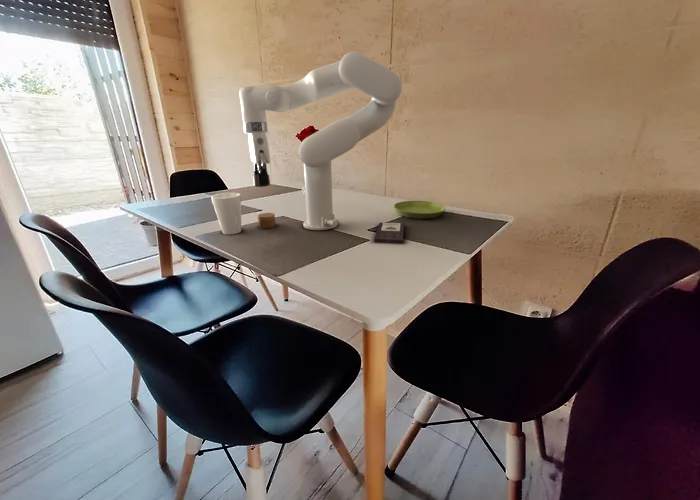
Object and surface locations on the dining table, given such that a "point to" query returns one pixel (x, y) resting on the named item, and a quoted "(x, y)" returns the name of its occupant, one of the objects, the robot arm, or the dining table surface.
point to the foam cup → (228, 211)
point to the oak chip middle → (266, 217)
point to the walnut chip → (256, 181)
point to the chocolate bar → (390, 233)
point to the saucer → (419, 209)
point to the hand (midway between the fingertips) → (261, 182)
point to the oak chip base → (267, 225)
